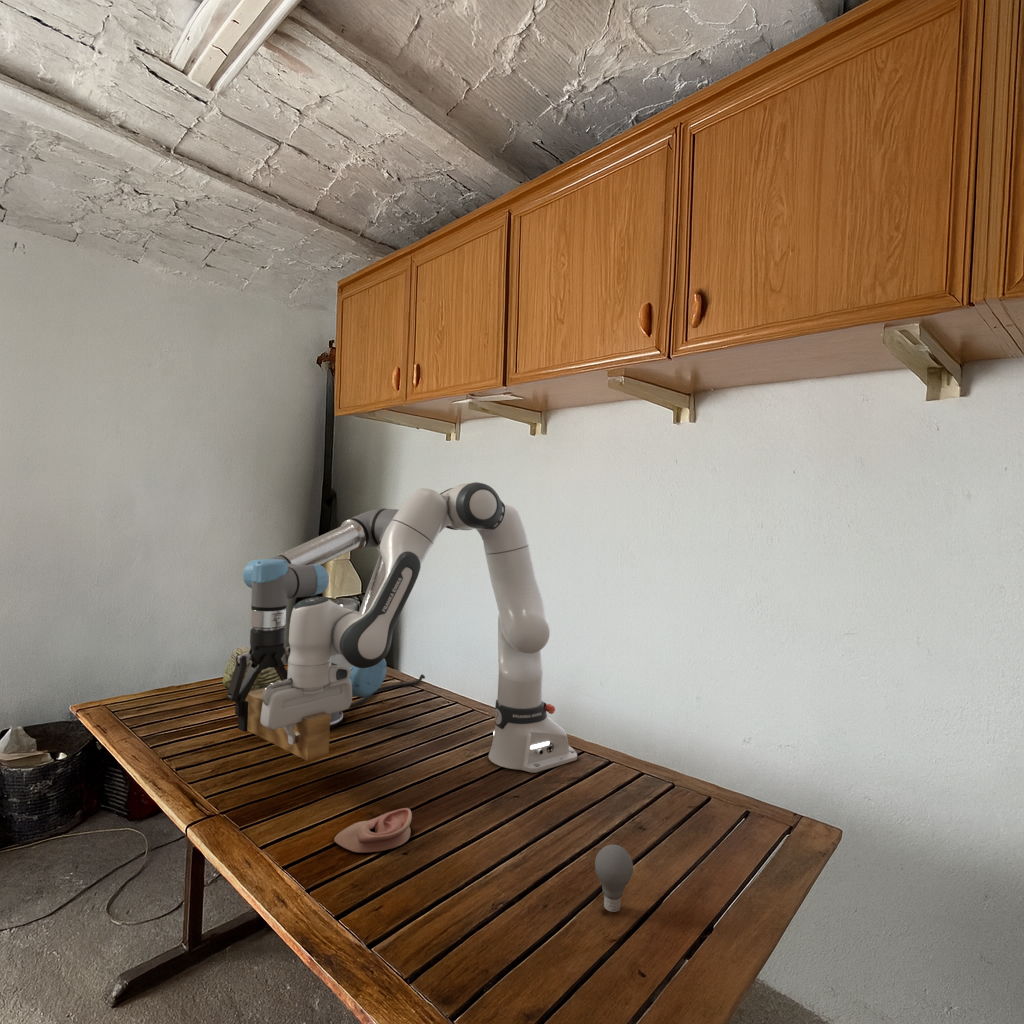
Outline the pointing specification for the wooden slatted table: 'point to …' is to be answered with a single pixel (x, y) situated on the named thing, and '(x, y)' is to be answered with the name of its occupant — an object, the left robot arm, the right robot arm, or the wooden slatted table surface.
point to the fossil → (262, 678)
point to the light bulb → (613, 874)
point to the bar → (309, 729)
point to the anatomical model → (377, 832)
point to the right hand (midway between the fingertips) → (307, 739)
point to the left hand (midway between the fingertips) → (264, 723)
